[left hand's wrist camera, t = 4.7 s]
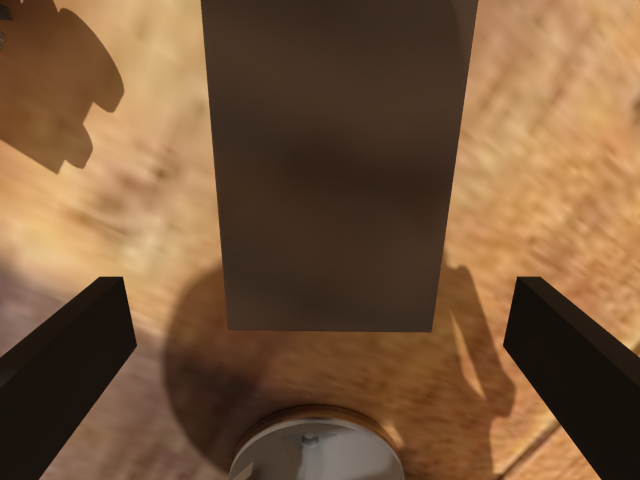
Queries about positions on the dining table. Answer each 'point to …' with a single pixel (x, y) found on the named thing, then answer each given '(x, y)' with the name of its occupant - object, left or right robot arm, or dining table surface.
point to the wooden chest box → (335, 157)
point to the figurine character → (3, 14)
